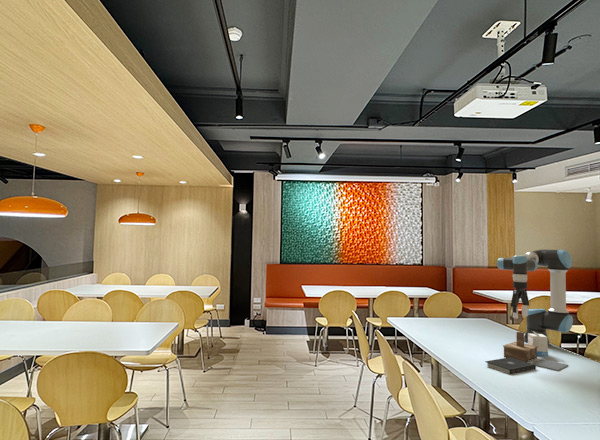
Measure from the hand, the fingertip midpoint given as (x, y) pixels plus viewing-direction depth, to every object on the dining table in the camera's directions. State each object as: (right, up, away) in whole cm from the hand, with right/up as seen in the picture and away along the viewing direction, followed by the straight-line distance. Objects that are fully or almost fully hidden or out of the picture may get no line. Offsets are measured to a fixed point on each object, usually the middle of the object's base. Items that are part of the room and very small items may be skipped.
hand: (520, 317), depth 227 cm
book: (-18, -23, -21) cm, 36 cm away
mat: (+8, -23, -15) cm, 29 cm away
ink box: (+15, -25, +8) cm, 30 cm away
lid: (0, -19, -1) cm, 19 cm away
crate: (-1, -24, -1) cm, 24 cm away
